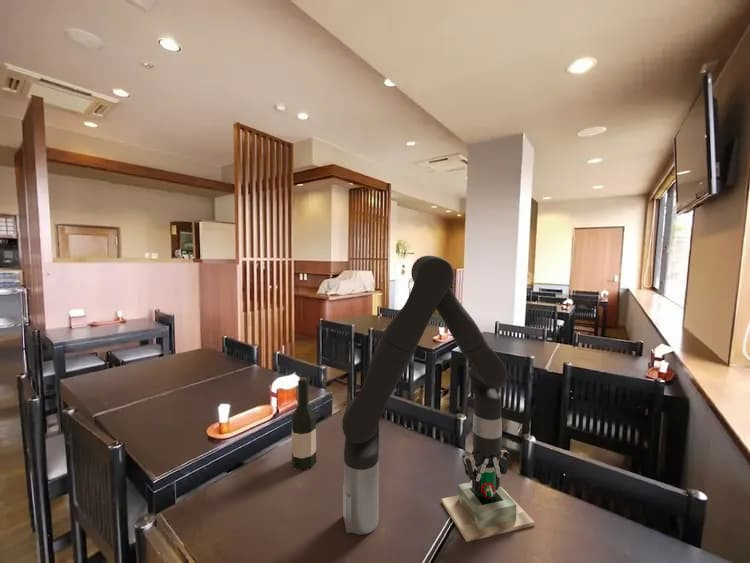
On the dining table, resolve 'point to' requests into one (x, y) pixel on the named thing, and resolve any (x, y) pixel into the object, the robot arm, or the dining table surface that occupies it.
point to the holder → (485, 513)
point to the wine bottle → (303, 430)
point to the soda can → (487, 485)
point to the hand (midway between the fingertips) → (485, 489)
